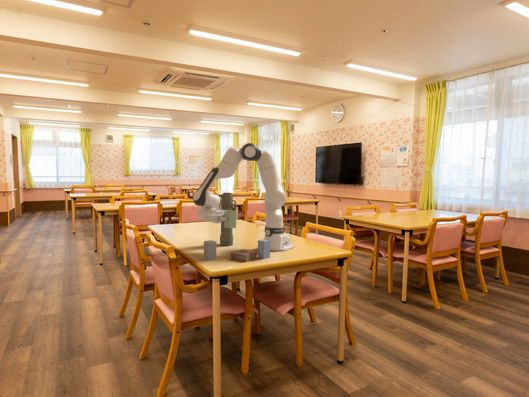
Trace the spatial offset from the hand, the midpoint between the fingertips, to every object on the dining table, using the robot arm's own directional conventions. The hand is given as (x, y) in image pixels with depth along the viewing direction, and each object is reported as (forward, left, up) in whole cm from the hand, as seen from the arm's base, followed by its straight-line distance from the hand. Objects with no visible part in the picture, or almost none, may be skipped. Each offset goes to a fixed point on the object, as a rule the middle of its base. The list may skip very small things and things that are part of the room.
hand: (231, 218), depth 203 cm
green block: (0, -1, -6) cm, 6 cm away
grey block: (+15, 0, -22) cm, 26 cm away
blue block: (-10, +18, -22) cm, 30 cm away
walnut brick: (0, +12, -22) cm, 25 cm away
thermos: (-17, -23, -22) cm, 36 cm away
